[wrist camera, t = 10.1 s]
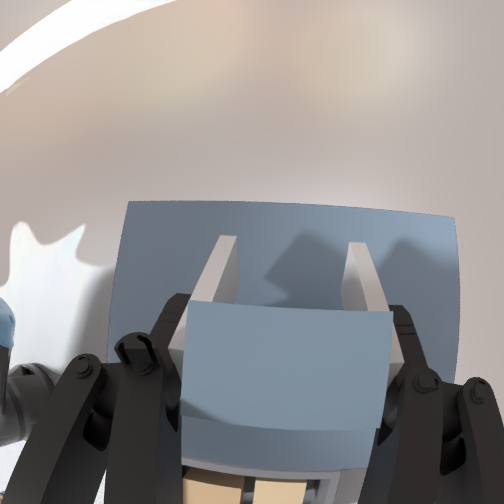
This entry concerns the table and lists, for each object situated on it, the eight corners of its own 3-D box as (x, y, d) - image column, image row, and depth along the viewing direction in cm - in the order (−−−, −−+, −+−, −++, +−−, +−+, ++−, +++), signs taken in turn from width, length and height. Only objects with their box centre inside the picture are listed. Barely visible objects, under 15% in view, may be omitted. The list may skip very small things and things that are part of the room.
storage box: (181, 497, 30) (161, 528, 21) (181, 426, 33) (156, 450, 24) (313, 512, 27) (318, 547, 19) (329, 441, 31) (341, 471, 22)
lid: (126, 421, 17) (13, 472, 6) (145, 215, 21) (44, 128, 9) (421, 442, 14) (512, 513, 3) (436, 230, 18) (537, 149, 7)
